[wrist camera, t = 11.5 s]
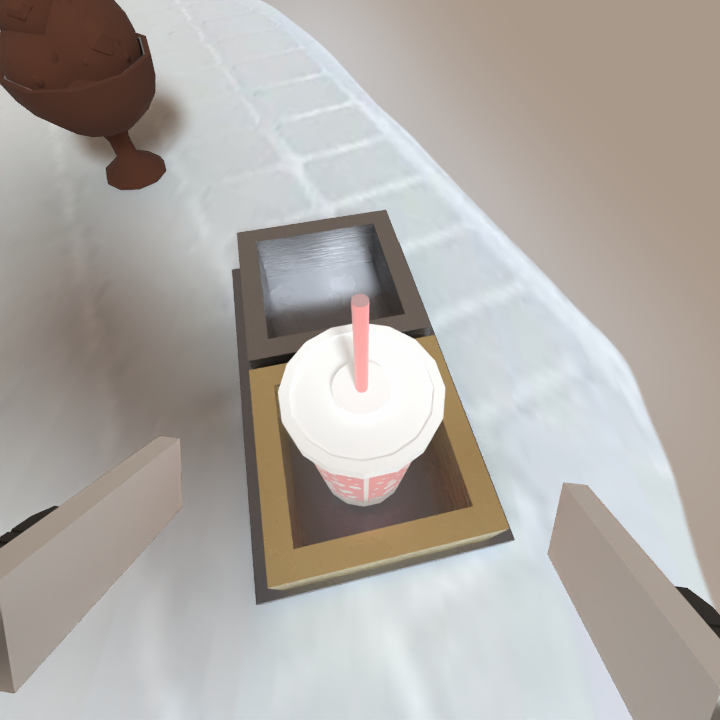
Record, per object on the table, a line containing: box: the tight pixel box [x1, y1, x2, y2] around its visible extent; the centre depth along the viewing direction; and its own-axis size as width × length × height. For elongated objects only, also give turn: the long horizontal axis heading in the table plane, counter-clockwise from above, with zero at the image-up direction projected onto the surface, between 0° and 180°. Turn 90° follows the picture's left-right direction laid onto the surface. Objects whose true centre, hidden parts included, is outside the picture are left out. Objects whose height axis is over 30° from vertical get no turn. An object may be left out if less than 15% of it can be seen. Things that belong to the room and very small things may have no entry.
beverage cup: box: [278, 294, 445, 507], centre depth 16 cm, size 6×6×14 cm
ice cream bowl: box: [0, 0, 166, 190], centre depth 32 cm, size 11×11×15 cm
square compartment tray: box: [232, 210, 515, 605], centre depth 24 cm, size 22×13×4 cm, turn 12°
